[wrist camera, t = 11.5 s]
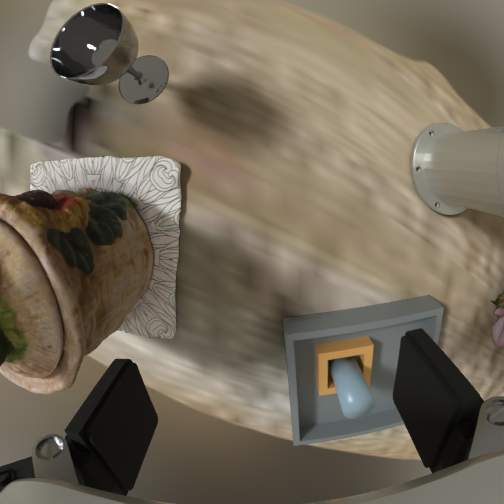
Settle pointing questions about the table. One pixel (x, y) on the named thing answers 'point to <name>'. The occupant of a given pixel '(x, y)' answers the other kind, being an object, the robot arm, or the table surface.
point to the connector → (351, 387)
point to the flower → (499, 322)
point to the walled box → (383, 362)
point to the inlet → (341, 350)
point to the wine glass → (106, 54)
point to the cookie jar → (86, 263)
